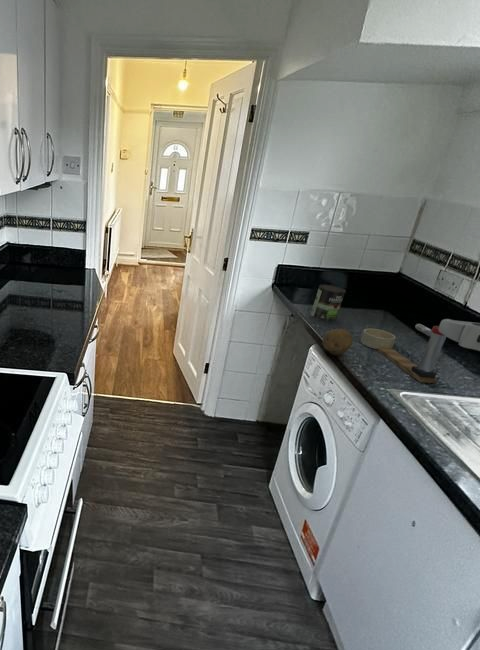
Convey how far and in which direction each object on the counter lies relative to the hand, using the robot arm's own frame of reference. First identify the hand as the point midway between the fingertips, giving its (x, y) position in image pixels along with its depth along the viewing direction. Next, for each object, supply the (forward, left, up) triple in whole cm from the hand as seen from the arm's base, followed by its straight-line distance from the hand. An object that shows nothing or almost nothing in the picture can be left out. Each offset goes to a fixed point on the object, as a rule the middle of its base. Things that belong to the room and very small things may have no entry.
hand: (464, 323), depth 121 cm
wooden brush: (+8, -11, -21) cm, 25 cm away
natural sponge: (+30, -5, -22) cm, 37 cm away
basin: (+17, -25, -21) cm, 37 cm away
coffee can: (+37, -45, -21) cm, 62 cm away
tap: (+6, -7, -20) cm, 22 cm away
